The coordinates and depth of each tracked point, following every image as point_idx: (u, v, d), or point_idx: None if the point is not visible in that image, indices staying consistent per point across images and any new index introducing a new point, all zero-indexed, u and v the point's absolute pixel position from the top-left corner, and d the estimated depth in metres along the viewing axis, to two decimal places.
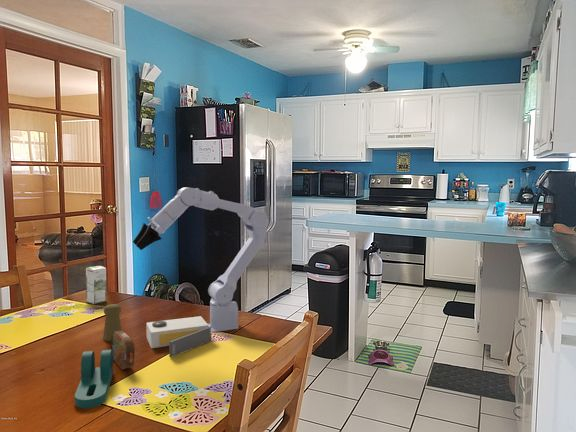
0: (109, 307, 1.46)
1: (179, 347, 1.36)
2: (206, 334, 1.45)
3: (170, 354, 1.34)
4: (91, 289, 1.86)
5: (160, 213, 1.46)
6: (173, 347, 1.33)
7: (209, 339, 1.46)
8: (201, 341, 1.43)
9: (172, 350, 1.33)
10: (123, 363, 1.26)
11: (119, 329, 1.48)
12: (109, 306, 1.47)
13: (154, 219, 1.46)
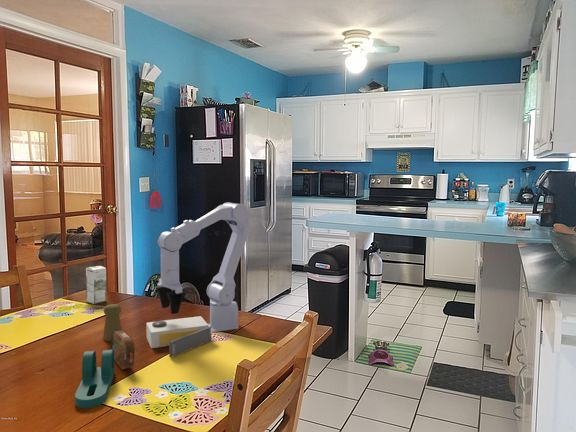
0: (109, 307, 1.46)
1: (179, 347, 1.36)
2: (206, 334, 1.45)
3: (170, 354, 1.34)
4: (91, 289, 1.86)
5: (164, 274, 1.44)
6: (173, 347, 1.33)
7: (209, 339, 1.46)
8: (201, 341, 1.43)
9: (172, 350, 1.33)
10: (123, 363, 1.26)
11: (119, 329, 1.48)
12: (109, 306, 1.47)
13: (164, 282, 1.45)
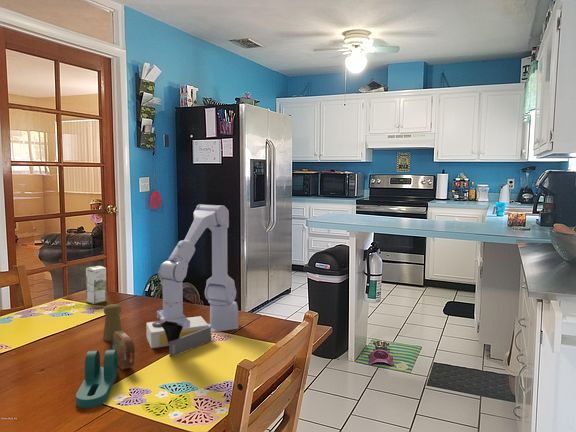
0: (109, 307, 1.46)
1: (179, 347, 1.36)
2: (206, 334, 1.45)
3: (170, 354, 1.34)
4: (91, 289, 1.86)
5: (168, 307, 1.33)
6: (173, 347, 1.33)
7: (209, 339, 1.46)
8: (201, 341, 1.43)
9: (172, 350, 1.33)
10: (123, 363, 1.26)
11: (119, 329, 1.48)
12: (109, 306, 1.47)
13: (168, 316, 1.33)
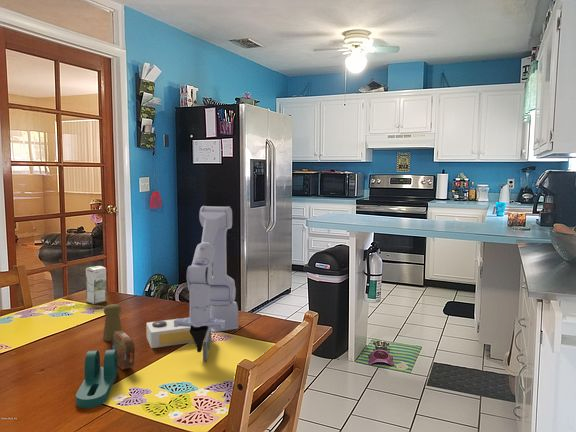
0: (109, 307, 1.46)
1: None
2: (210, 334, 1.45)
3: (204, 359, 1.31)
4: (91, 289, 1.86)
5: (202, 312, 1.29)
6: (207, 351, 1.31)
7: (210, 339, 1.46)
8: (209, 342, 1.43)
9: (206, 353, 1.31)
10: (123, 363, 1.26)
11: (119, 329, 1.48)
12: (109, 306, 1.47)
13: (202, 321, 1.30)
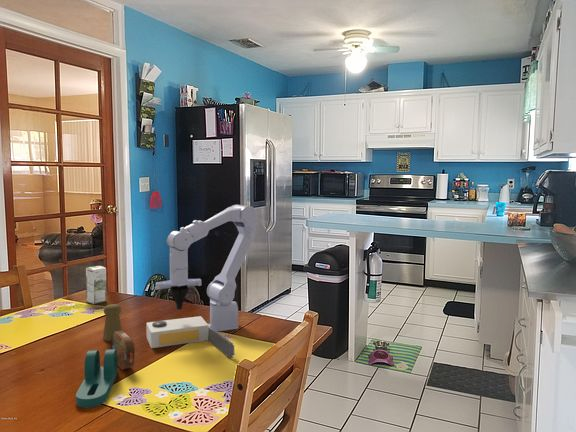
0: (109, 307, 1.46)
1: None
2: None
3: (231, 355, 1.33)
4: (91, 289, 1.86)
5: (184, 272, 1.48)
6: (233, 347, 1.34)
7: None
8: None
9: (233, 350, 1.34)
10: (123, 363, 1.26)
11: (119, 329, 1.48)
12: (109, 306, 1.47)
13: (185, 280, 1.48)
